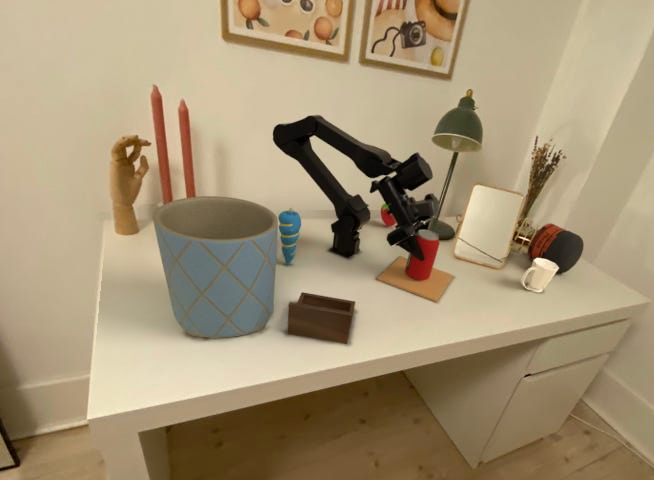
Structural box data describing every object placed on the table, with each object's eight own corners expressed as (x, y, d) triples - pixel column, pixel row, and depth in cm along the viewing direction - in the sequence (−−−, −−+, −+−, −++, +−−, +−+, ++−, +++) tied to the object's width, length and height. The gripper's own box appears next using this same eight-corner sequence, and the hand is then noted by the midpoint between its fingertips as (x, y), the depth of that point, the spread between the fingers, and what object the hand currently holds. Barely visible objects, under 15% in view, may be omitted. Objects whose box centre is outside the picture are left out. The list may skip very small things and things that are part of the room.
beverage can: (414, 267, 103) (425, 226, 97) (434, 278, 100) (446, 236, 93) (399, 273, 99) (409, 231, 92) (419, 285, 96) (431, 242, 89)
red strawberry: (385, 231, 121) (391, 201, 116) (374, 222, 126) (379, 193, 121) (400, 231, 124) (406, 201, 119) (389, 222, 129) (395, 193, 124)
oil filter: (544, 257, 129) (561, 221, 121) (575, 274, 121) (595, 237, 114) (521, 261, 122) (537, 224, 114) (552, 280, 114) (572, 241, 107)
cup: (552, 294, 106) (564, 269, 102) (526, 297, 102) (538, 271, 97) (534, 281, 111) (546, 257, 107) (509, 283, 107) (520, 258, 102)
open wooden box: (301, 301, 81) (302, 273, 78) (353, 310, 82) (358, 283, 78) (287, 334, 72) (288, 304, 68) (347, 344, 73) (351, 315, 69)
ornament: (273, 264, 92) (274, 205, 84) (285, 257, 96) (287, 200, 88) (291, 271, 91) (293, 212, 83) (302, 263, 95) (306, 206, 87)
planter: (173, 289, 77) (158, 193, 66) (269, 285, 84) (270, 198, 73) (167, 349, 63) (145, 240, 52) (283, 339, 70) (286, 241, 59)
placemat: (377, 279, 95) (377, 277, 95) (400, 258, 108) (400, 256, 108) (436, 302, 91) (436, 300, 91) (452, 276, 104) (453, 274, 104)
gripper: (410, 191, 80) (444, 255, 83) (436, 176, 95) (464, 231, 98) (371, 215, 86) (404, 273, 90) (401, 198, 101) (428, 248, 105)
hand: (427, 255), depth 95 cm, fingers closed on beverage can, 7 cm apart
